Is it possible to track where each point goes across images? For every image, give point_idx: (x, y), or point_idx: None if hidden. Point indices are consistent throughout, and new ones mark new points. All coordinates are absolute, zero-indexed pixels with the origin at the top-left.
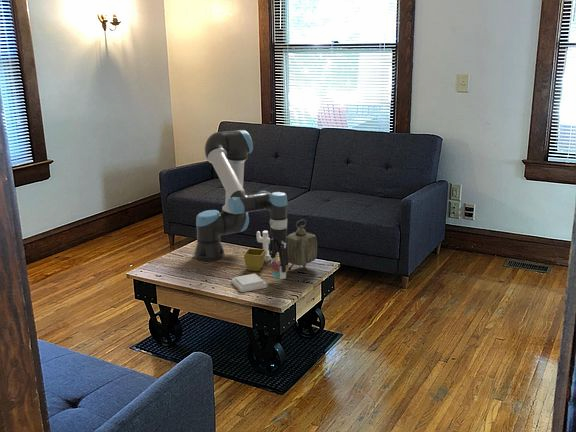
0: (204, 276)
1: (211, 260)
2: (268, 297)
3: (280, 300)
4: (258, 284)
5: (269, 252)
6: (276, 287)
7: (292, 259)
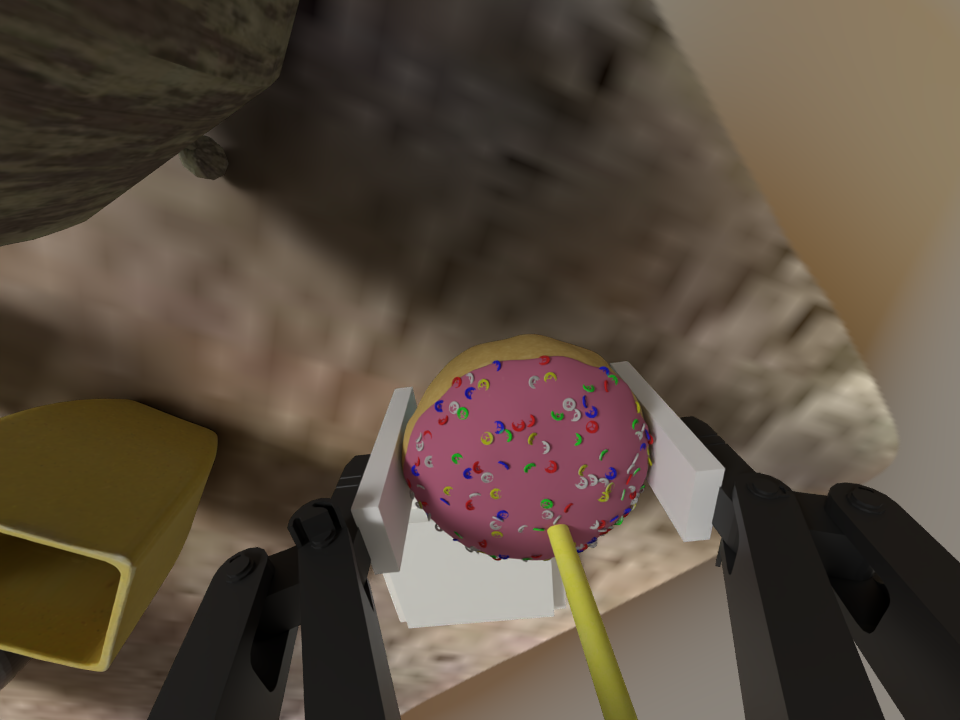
0: None
1: None
2: None
3: (808, 436)
4: None
5: (268, 658)
6: None
7: (183, 133)
